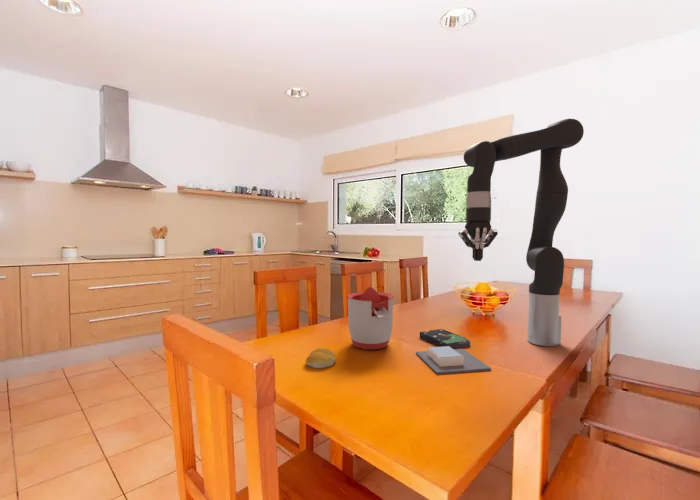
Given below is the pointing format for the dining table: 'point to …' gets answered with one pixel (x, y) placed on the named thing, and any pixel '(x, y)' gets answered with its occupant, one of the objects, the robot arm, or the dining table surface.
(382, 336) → the citrus juicer
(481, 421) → the dining table surface
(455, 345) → the disk drive
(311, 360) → the bread roll
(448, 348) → the block
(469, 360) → the mat
